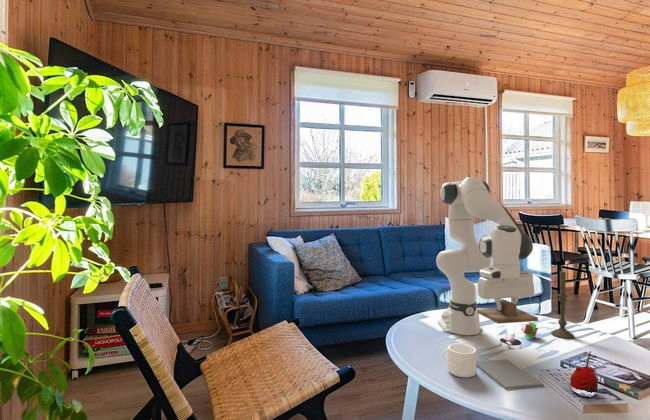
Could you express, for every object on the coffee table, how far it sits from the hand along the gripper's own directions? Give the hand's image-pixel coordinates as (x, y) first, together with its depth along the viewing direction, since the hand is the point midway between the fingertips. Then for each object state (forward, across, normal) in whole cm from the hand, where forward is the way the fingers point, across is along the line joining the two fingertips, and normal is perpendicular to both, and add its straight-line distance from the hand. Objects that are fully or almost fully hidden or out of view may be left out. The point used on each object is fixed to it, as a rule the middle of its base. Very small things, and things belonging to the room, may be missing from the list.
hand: (506, 309), depth 137 cm
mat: (+23, 0, 0) cm, 23 cm away
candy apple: (+24, -16, +17) cm, 33 cm away
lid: (+2, 0, 0) cm, 2 cm away
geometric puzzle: (+24, -33, -31) cm, 51 cm away
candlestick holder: (+24, -49, -31) cm, 63 cm away
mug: (+24, +16, -4) cm, 29 cm away
